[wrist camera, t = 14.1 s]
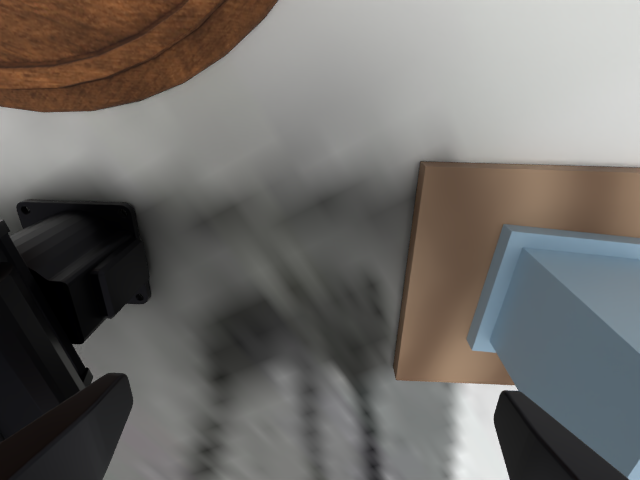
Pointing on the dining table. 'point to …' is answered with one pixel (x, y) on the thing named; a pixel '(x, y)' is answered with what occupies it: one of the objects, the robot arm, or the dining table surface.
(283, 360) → the dining table surface
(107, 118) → the dining table surface
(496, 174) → the locating plate
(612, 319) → the light blue square holder
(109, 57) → the cutting board
